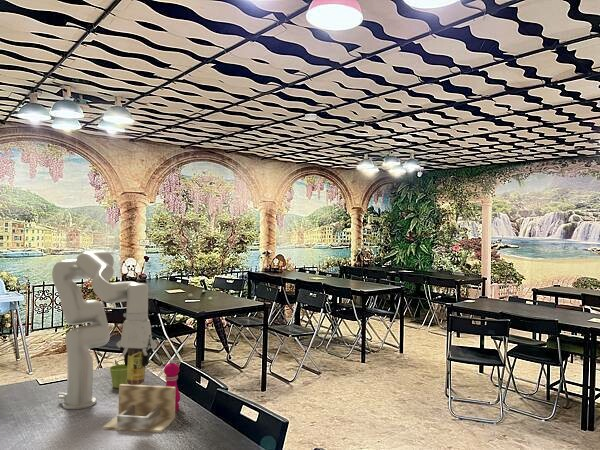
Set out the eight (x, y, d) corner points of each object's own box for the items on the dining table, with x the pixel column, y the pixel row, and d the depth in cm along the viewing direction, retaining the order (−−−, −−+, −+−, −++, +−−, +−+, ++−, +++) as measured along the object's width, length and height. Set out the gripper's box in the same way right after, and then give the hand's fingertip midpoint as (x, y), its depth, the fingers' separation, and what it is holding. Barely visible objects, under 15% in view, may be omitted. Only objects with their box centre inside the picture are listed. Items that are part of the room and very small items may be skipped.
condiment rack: (102, 429, 168) (103, 395, 168) (120, 415, 181) (120, 384, 181) (161, 432, 165) (162, 398, 166) (175, 418, 178) (175, 386, 179)
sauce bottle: (134, 386, 168) (134, 331, 169) (123, 383, 172) (123, 329, 172) (148, 382, 174) (149, 328, 174) (137, 379, 177) (138, 326, 178)
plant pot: (125, 389, 210) (126, 370, 210) (105, 389, 210) (105, 369, 210) (133, 382, 219) (134, 364, 220) (113, 382, 220) (114, 364, 220)
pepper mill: (175, 413, 183) (176, 362, 183) (158, 411, 184) (159, 361, 185) (183, 406, 190) (184, 357, 191) (166, 405, 192) (167, 356, 192)
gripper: (110, 317, 171) (109, 367, 170) (155, 319, 169) (154, 369, 168) (120, 314, 178) (119, 361, 178) (163, 315, 176) (162, 363, 176)
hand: (136, 364), depth 173 cm, fingers closed on sauce bottle, 6 cm apart
